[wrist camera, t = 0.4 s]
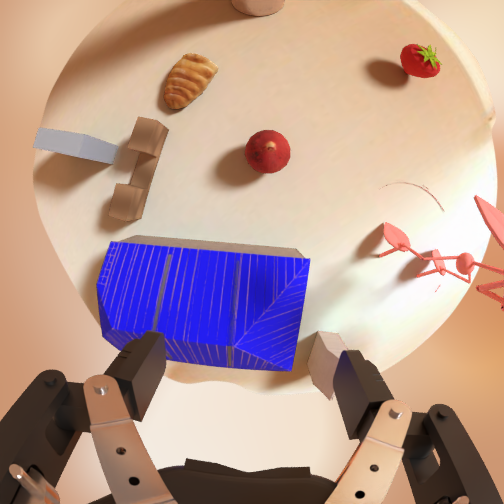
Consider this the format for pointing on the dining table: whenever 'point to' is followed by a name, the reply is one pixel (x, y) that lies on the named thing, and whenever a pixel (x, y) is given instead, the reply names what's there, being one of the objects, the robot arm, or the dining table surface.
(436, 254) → the figurine
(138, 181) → the walnut blocks
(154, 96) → the dining table surface
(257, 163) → the onion
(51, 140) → the grey notched square slab
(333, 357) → the grey house-shaped block
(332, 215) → the dining table surface
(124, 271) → the house
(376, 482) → the robot arm
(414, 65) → the strawberry
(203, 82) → the pastry
